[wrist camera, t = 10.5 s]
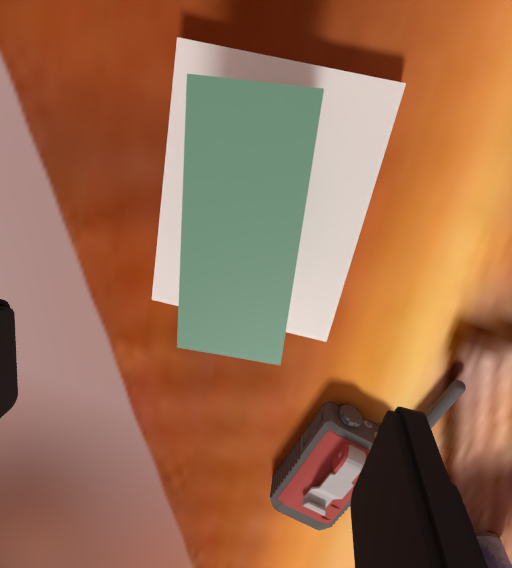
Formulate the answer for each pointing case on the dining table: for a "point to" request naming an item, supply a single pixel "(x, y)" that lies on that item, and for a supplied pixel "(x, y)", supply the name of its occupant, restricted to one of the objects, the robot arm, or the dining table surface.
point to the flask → (492, 550)
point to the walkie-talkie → (333, 461)
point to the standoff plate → (323, 180)
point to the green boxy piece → (242, 212)
